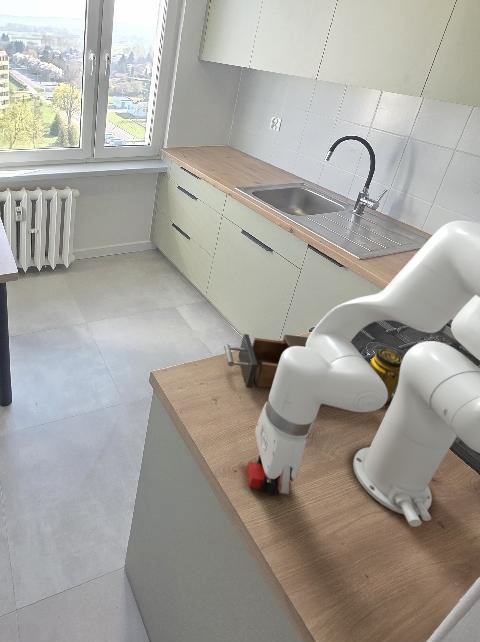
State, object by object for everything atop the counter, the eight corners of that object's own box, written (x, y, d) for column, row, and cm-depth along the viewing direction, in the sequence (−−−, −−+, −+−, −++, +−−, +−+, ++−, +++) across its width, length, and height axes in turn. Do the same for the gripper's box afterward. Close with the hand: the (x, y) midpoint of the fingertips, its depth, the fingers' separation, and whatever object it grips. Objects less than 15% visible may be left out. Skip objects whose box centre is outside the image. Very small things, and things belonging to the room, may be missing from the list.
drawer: (225, 385, 99) (231, 361, 96) (219, 353, 108) (224, 331, 105) (310, 396, 97) (318, 373, 94) (296, 363, 106) (303, 341, 103)
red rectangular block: (283, 476, 80) (286, 467, 79) (287, 493, 77) (291, 484, 76) (245, 470, 81) (248, 461, 80) (249, 487, 78) (251, 478, 77)
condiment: (351, 382, 103) (367, 344, 98) (385, 383, 103) (402, 346, 98) (369, 407, 96) (386, 368, 91) (405, 408, 96) (424, 369, 91)
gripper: (256, 373, 79) (238, 439, 87) (279, 454, 64) (255, 525, 72) (297, 379, 79) (275, 445, 86) (330, 461, 64) (300, 533, 71)
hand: (266, 481), depth 79 cm, fingers closed on red rectangular block, 3 cm apart
